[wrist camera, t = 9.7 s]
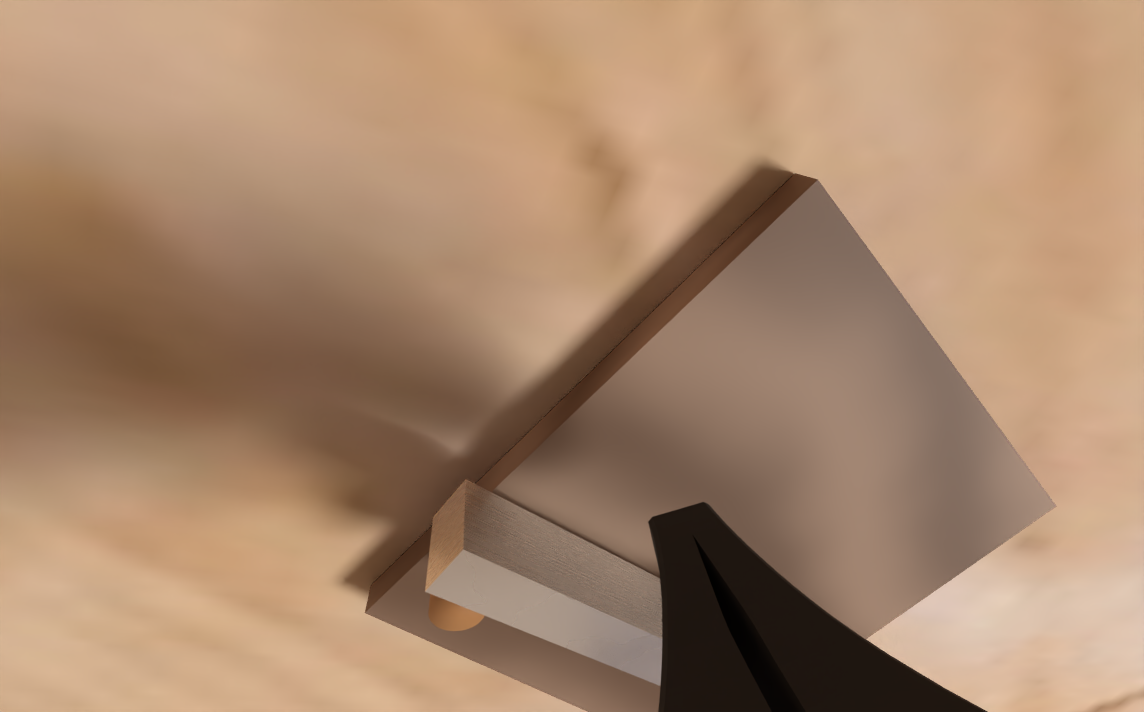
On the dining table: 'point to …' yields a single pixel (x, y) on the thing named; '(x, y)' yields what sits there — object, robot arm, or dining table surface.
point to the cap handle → (545, 581)
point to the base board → (756, 448)
